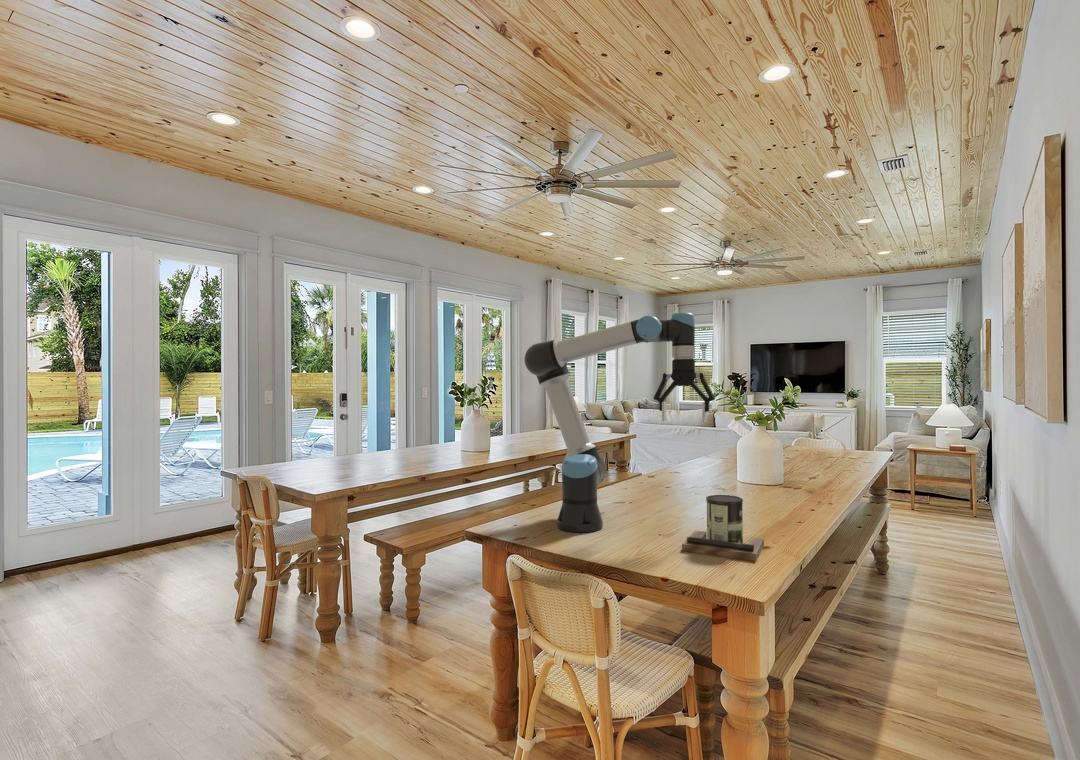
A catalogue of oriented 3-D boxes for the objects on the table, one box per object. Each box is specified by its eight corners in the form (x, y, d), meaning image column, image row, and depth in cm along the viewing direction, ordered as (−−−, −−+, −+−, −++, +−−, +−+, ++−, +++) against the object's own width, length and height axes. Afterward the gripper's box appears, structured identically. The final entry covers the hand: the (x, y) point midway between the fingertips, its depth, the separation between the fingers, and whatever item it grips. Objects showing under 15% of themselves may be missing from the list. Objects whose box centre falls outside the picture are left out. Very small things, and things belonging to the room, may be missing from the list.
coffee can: (740, 541, 170) (740, 495, 170) (745, 552, 160) (745, 502, 160) (705, 540, 172) (704, 493, 172) (708, 550, 162) (707, 501, 162)
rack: (682, 551, 162) (681, 538, 162) (695, 536, 176) (695, 525, 176) (756, 561, 152) (756, 547, 152) (763, 545, 166) (763, 533, 166)
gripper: (723, 358, 189) (723, 421, 189) (651, 359, 201) (651, 419, 201) (719, 357, 183) (719, 423, 183) (644, 359, 195) (645, 420, 195)
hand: (683, 421), depth 192 cm, fingers open, 13 cm apart
